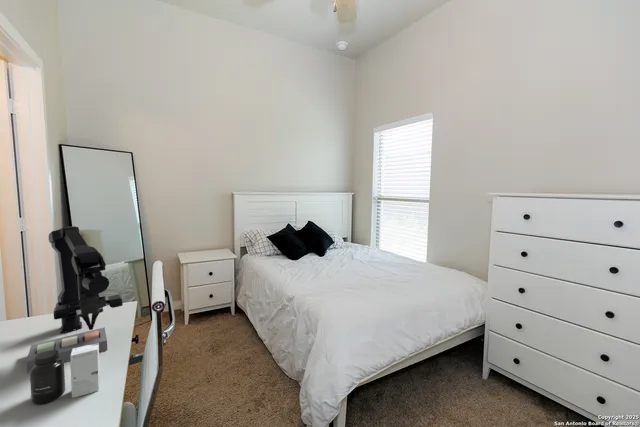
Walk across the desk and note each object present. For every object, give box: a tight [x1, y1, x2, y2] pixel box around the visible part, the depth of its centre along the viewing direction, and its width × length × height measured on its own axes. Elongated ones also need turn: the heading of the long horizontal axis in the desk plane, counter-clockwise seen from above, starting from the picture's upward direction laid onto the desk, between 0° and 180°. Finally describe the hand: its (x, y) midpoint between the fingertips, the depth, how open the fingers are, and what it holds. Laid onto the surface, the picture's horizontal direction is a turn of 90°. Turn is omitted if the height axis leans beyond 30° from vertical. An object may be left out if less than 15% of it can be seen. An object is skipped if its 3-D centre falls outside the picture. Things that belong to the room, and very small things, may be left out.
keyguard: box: [25, 327, 109, 373], centre depth 101 cm, size 12×20×4 cm, turn 129°
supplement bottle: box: [29, 350, 66, 406], centre depth 80 cm, size 7×7×12 cm
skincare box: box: [70, 343, 101, 399], centre depth 82 cm, size 6×4×12 cm
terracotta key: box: [84, 331, 99, 342], centre depth 105 cm, size 4×4×2 cm
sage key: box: [37, 341, 55, 354], centre depth 97 cm, size 4×4×2 cm
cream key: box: [62, 336, 78, 347], centre depth 101 cm, size 4×4×2 cm
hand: (91, 329), depth 104 cm, fingers closed
